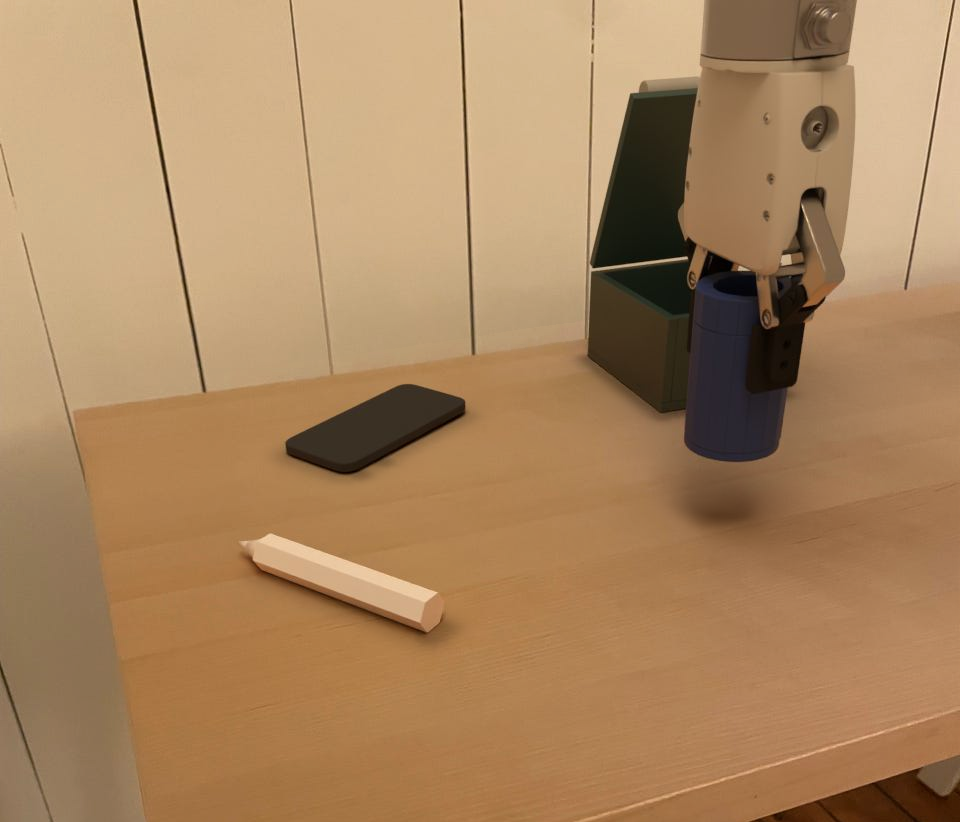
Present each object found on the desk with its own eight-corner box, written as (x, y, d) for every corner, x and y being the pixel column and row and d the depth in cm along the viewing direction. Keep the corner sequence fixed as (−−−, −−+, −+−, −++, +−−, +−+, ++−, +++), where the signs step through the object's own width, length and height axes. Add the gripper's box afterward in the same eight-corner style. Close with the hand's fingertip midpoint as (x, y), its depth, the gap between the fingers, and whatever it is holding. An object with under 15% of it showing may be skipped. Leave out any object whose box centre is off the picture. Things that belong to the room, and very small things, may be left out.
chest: (781, 392, 87) (795, 301, 82) (661, 413, 84) (669, 319, 79) (696, 339, 98) (704, 256, 94) (587, 356, 95) (590, 271, 90)
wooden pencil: (241, 562, 67) (437, 632, 59) (218, 560, 65) (417, 633, 58) (249, 523, 66) (448, 589, 59) (226, 521, 65) (428, 589, 57)
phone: (277, 442, 78) (404, 381, 88) (279, 452, 79) (405, 390, 88) (346, 466, 75) (471, 400, 84) (348, 477, 75) (472, 409, 85)
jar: (728, 415, 69) (744, 264, 63) (798, 443, 65) (822, 285, 59) (664, 440, 66) (674, 284, 60) (733, 471, 62) (752, 308, 56)
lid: (765, 88, 80) (736, 53, 83) (634, 98, 77) (608, 62, 80) (707, 254, 93) (683, 219, 96) (592, 268, 90) (571, 232, 92)
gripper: (953, 39, 46) (879, 409, 57) (748, 15, 59) (719, 319, 70) (813, 53, 44) (763, 433, 55) (633, 25, 58) (621, 336, 68)
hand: (739, 366), depth 62 cm, fingers closed on jar, 6 cm apart
